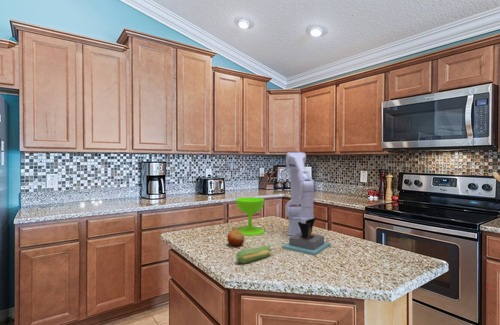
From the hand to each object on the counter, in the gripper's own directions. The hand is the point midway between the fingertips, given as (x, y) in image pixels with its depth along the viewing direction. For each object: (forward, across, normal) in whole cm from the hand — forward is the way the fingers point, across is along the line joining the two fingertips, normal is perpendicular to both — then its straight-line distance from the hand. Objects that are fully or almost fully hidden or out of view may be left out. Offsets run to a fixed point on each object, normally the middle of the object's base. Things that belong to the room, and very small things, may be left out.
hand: (306, 235), depth 133 cm
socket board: (+5, 0, 0) cm, 5 cm away
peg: (+4, 0, 0) cm, 4 cm away
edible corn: (+5, +25, -15) cm, 29 cm away
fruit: (+5, +12, -31) cm, 34 cm away
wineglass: (+5, -13, -35) cm, 38 cm away
